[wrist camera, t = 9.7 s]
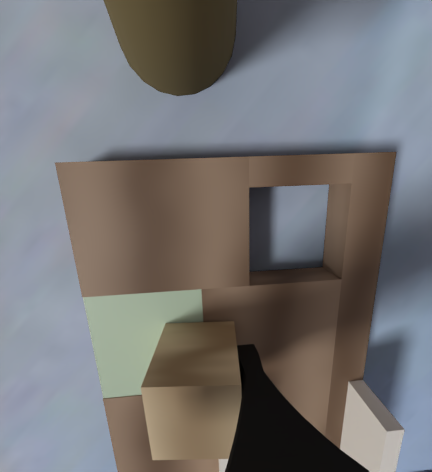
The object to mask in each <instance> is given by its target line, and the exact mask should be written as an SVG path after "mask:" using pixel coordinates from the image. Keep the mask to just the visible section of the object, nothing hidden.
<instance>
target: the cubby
mask: <svg viewBox="0 0 432 472" xmlns="http://www.w3.org/2000/svg"><path fill="white" fill-rule="evenodd" d="M403 434H404V428H403V427H402V426H401V425H400V424H399V422H398V421H397V420H396V419H395V418H394V417H393V415H392V414H391V413H390V412H389V411H388V409H387V408H386V407H385V406H384V405H383V403H382V402H381V401H380V400H379V399H378V397H377V396H376V395H375V394H374V393H373V392H372V390H371V389H370V388H369V387H368V386H367V384H366V383H365V382H364V381H363V380H357V381H349V382H348V390H347V397H346V405H345V413H344V421H343V428H342V436H341V444H340V449H341V450H342V451H343V452H344V453H346V454H347V455H348V456H350V457H351V458H353V459H354V460H355V461H357V462H358V463H359V464H361V465H362V466H363V467H365V468H366V469H367V470H369V471H370V472H395V471H396V467H397V462H398V457H399V453H400V448H401V444H402V439H403ZM227 463H228V459H219V472H225V469H226V466H227Z"/></svg>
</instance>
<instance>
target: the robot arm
mask: <svg viewBox="0 0 432 472" xmlns="http://www.w3.org/2000/svg"><path fill="white" fill-rule="evenodd" d="M237 351H238V360H239V368H240V377H241V391H242V398H241V405H240V411H239V417H238V422H237V427H236V432H235V436H234V440H233V444H232V448H231V452H230V456H229V459H228V463H227V466H226V469H225V472H370V471H369V470H367V469H366V468H365V467H363V466H362V465H361V464H359V463H358V462H357V461H355V460H354V459H353V458H351V457H350V456H348V455H347V454H346V453H344V452H343V451H342V450H341V449H339V448H338V447H337V446H336V445H335V444H333V443H332V442H331V441H330V440H328V439H327V438H326V437H325V436H324V435H323V434H322V433H321V432H319V431H318V430H317V429H316V428H315V427H314V426H313V425H312V424H311V423H310V422H308V421H307V420H306V419H305V418H304V417H303V416H302V415H301V414H300V413H299V412H298V411H297V410H296V409H295V408H294V407H293V406H292V404H291V403H290V402H289V401H288V400H287V399H286V398H285V397H284V396H283V395H282V393H281V392H280V391H279V390H278V389H277V387H276V386H275V385H274V384H273V382H272V381H271V380H270V379H269V377H268V376H267V375H266V373H265V372H264V370H263V367H262V363H261V360H260V356H259V353H258V351H257V349H256V347H255V345H254V344H247V345H237Z"/></svg>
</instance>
